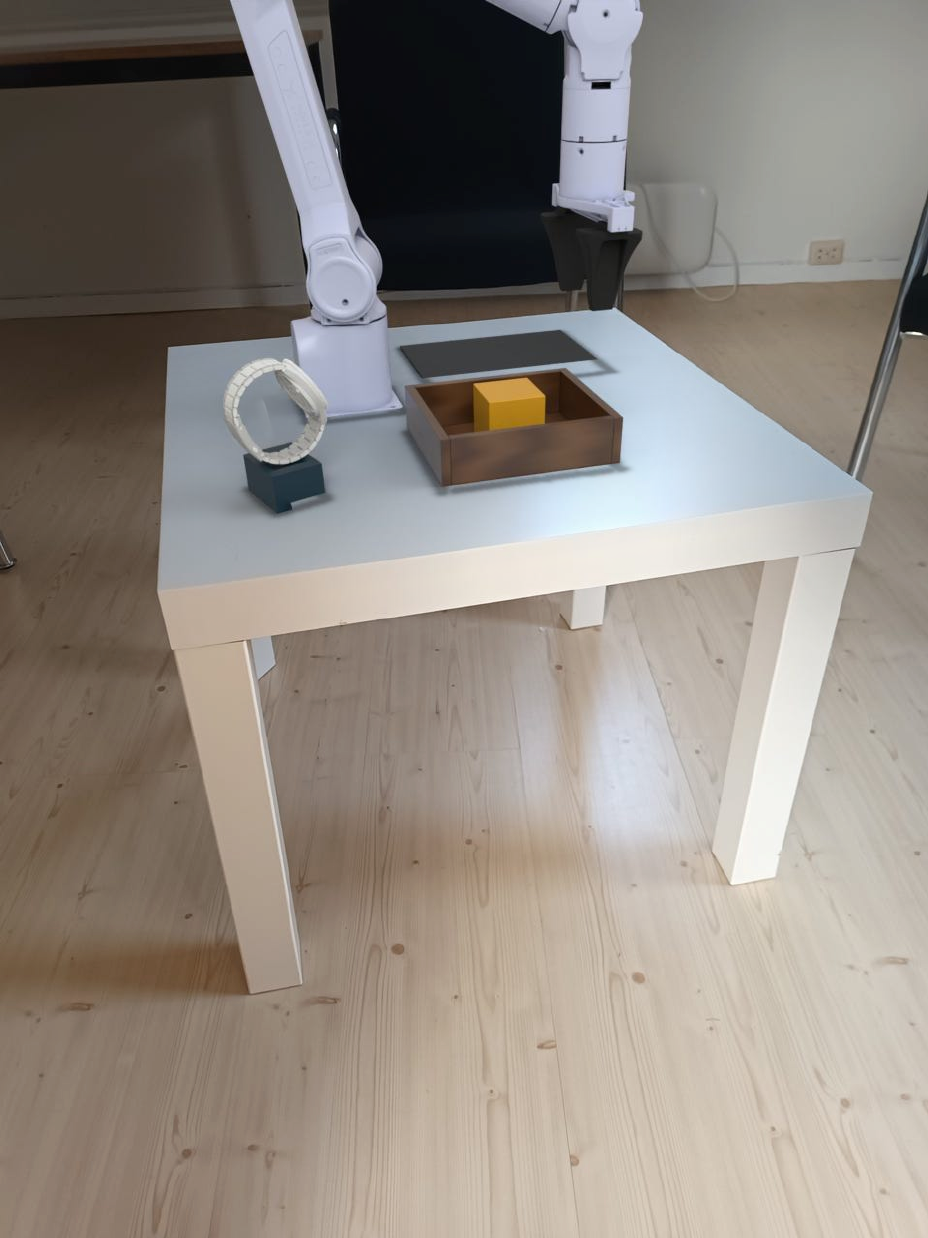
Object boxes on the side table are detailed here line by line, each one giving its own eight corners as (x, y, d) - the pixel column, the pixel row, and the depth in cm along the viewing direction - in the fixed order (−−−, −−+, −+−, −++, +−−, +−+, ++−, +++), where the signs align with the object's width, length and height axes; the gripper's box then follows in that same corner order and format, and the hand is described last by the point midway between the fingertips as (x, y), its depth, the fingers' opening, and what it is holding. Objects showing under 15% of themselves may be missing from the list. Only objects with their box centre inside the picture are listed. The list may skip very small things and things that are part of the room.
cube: (489, 458, 80) (489, 402, 77) (473, 437, 84) (472, 383, 81) (544, 450, 81) (545, 395, 78) (526, 430, 85) (527, 377, 82)
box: (442, 493, 75) (440, 439, 73) (407, 433, 86) (404, 385, 84) (619, 468, 79) (623, 417, 76) (563, 414, 90) (565, 367, 87)
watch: (347, 492, 76) (333, 360, 70) (256, 519, 72) (234, 382, 66) (315, 470, 80) (300, 343, 74) (228, 494, 76) (205, 362, 70)
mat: (431, 392, 96) (431, 389, 95) (400, 348, 109) (399, 345, 108) (611, 371, 100) (611, 369, 100) (560, 331, 113) (560, 329, 113)
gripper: (673, 145, 75) (657, 314, 83) (603, 129, 87) (595, 278, 95) (593, 150, 74) (583, 322, 81) (533, 132, 86) (530, 284, 93)
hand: (585, 299), depth 88 cm, fingers open, 7 cm apart
